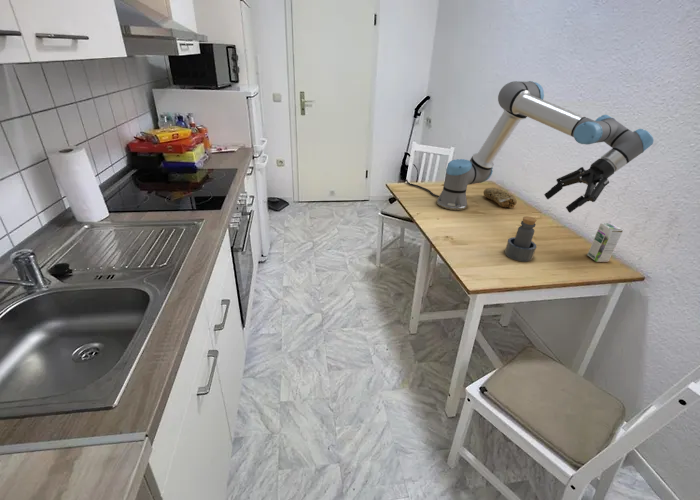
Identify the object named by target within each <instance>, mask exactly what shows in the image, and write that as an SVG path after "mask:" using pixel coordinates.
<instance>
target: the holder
mask: <svg viewBox="0 0 700 500" xmlns="http://www.w3.org/2000/svg"><path fill="white" fill-rule="evenodd" d="M515 237H516V236H514V237H513V236H511V237H509V238H508V239H507V241H506V245H505V248H504V254H505V256H506V257H507V258H510V259H511V260H514V261H517V262H525V263H527V262H530V261H532V260H533V258H534V255H535V253H536V249H537V244H536V243H535V242H534V241H533V240H532V241H531V244H530V247H529V248H522V247H518V246H516V245H514V241H515Z"/></svg>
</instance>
